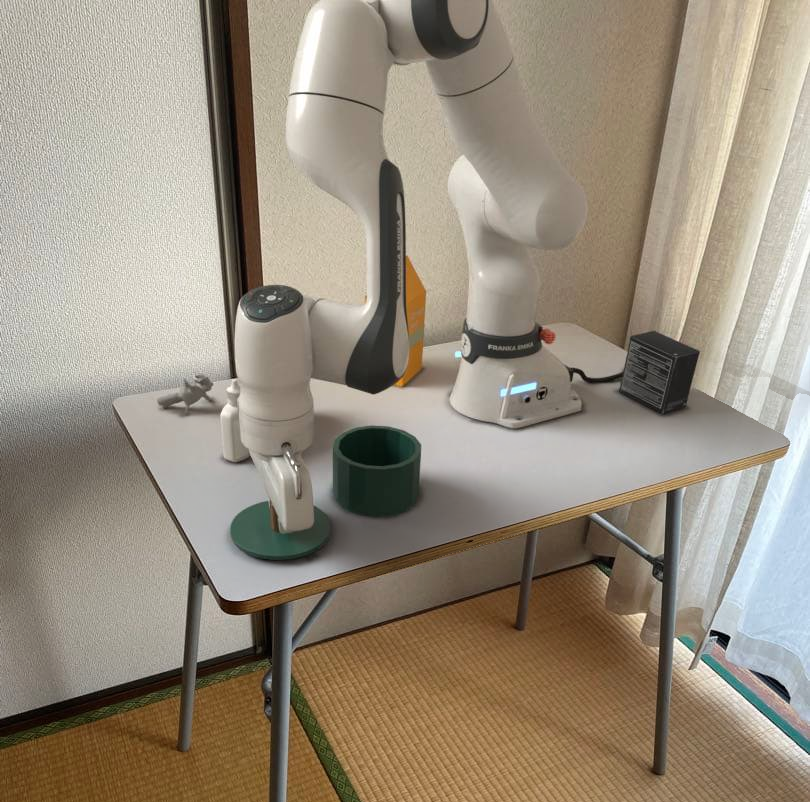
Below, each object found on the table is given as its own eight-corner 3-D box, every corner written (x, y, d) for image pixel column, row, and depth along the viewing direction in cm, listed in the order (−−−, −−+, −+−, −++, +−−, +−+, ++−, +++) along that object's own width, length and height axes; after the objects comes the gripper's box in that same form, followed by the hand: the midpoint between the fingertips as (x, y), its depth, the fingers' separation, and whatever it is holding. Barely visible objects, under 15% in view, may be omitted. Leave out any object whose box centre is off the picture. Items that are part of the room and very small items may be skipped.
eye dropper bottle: (263, 455, 130) (259, 382, 123) (228, 465, 127) (222, 390, 120) (250, 443, 133) (245, 370, 126) (216, 452, 130) (209, 378, 123)
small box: (688, 407, 149) (703, 350, 143) (662, 416, 146) (676, 357, 140) (642, 384, 156) (655, 328, 150) (617, 391, 153) (628, 335, 147)
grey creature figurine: (168, 394, 145) (218, 377, 144) (177, 427, 144) (227, 411, 143) (141, 378, 135) (194, 360, 134) (150, 414, 135) (203, 396, 133)
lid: (315, 500, 120) (315, 468, 117) (343, 553, 111) (343, 519, 108) (222, 515, 116) (219, 482, 113) (242, 571, 107) (239, 537, 104)
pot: (400, 465, 129) (403, 420, 125) (431, 508, 120) (434, 461, 116) (323, 477, 125) (322, 431, 121) (348, 522, 116) (348, 474, 112)
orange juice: (422, 368, 158) (429, 258, 146) (402, 387, 151) (407, 273, 139) (383, 359, 160) (387, 250, 149) (362, 377, 153) (364, 264, 142)
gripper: (326, 464, 98) (327, 562, 106) (282, 387, 113) (285, 478, 121) (271, 472, 96) (276, 572, 104) (234, 393, 111) (240, 485, 119)
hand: (281, 520), depth 112 cm, fingers open, 3 cm apart
